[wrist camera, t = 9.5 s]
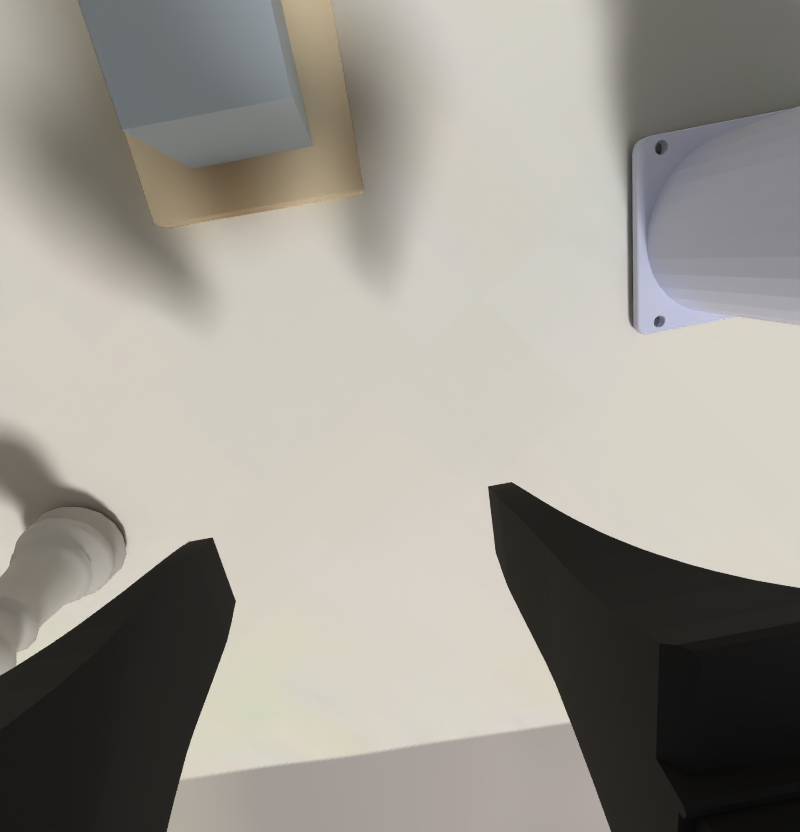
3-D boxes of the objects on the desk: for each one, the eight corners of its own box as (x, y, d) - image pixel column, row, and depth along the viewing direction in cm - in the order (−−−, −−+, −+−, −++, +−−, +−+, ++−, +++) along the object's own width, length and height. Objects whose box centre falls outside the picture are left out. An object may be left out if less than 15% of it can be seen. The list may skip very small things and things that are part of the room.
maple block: (321, -45, 16) (316, -86, 14) (363, 195, 19) (363, 188, 17) (102, -9, 16) (67, -45, 14) (175, 228, 19) (154, 225, 17)
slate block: (279, -6, 15) (240, -131, 10) (312, 145, 16) (292, 97, 12) (146, 19, 15) (45, -95, 10) (191, 169, 16) (121, 129, 12)
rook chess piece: (15, 530, 22) (-170, 670, 14) (85, 484, 21) (-68, 605, 14) (82, 592, 23) (-54, 749, 16) (150, 550, 23) (43, 692, 15)
